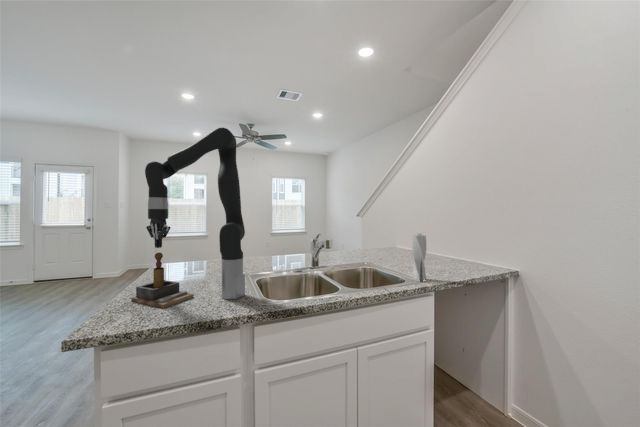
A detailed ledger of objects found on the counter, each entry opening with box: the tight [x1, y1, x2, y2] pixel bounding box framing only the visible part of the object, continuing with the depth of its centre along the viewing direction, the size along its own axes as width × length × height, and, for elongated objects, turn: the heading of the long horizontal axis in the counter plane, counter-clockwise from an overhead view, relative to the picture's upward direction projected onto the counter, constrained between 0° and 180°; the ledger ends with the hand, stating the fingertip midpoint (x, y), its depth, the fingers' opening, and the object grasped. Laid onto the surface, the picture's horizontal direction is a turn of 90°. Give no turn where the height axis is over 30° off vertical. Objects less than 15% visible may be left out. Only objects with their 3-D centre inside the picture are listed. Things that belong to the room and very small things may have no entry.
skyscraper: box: [411, 230, 427, 283], centre depth 143 cm, size 8×8×28 cm
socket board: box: [130, 279, 194, 309], centre depth 110 cm, size 20×14×6 cm
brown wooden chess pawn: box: [152, 252, 165, 289], centre depth 111 cm, size 7×6×18 cm
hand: (158, 247), depth 111 cm, fingers closed
